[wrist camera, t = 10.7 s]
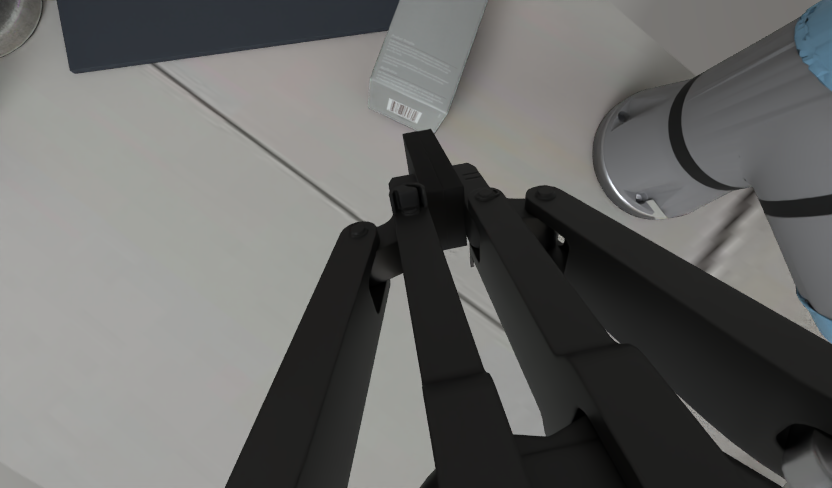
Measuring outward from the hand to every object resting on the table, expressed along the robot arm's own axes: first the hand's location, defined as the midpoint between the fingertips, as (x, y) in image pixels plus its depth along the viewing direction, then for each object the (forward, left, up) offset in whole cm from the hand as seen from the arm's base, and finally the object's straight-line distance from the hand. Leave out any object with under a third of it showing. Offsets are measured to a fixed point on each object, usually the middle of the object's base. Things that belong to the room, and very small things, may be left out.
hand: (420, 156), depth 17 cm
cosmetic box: (-2, -9, -15) cm, 18 cm away
